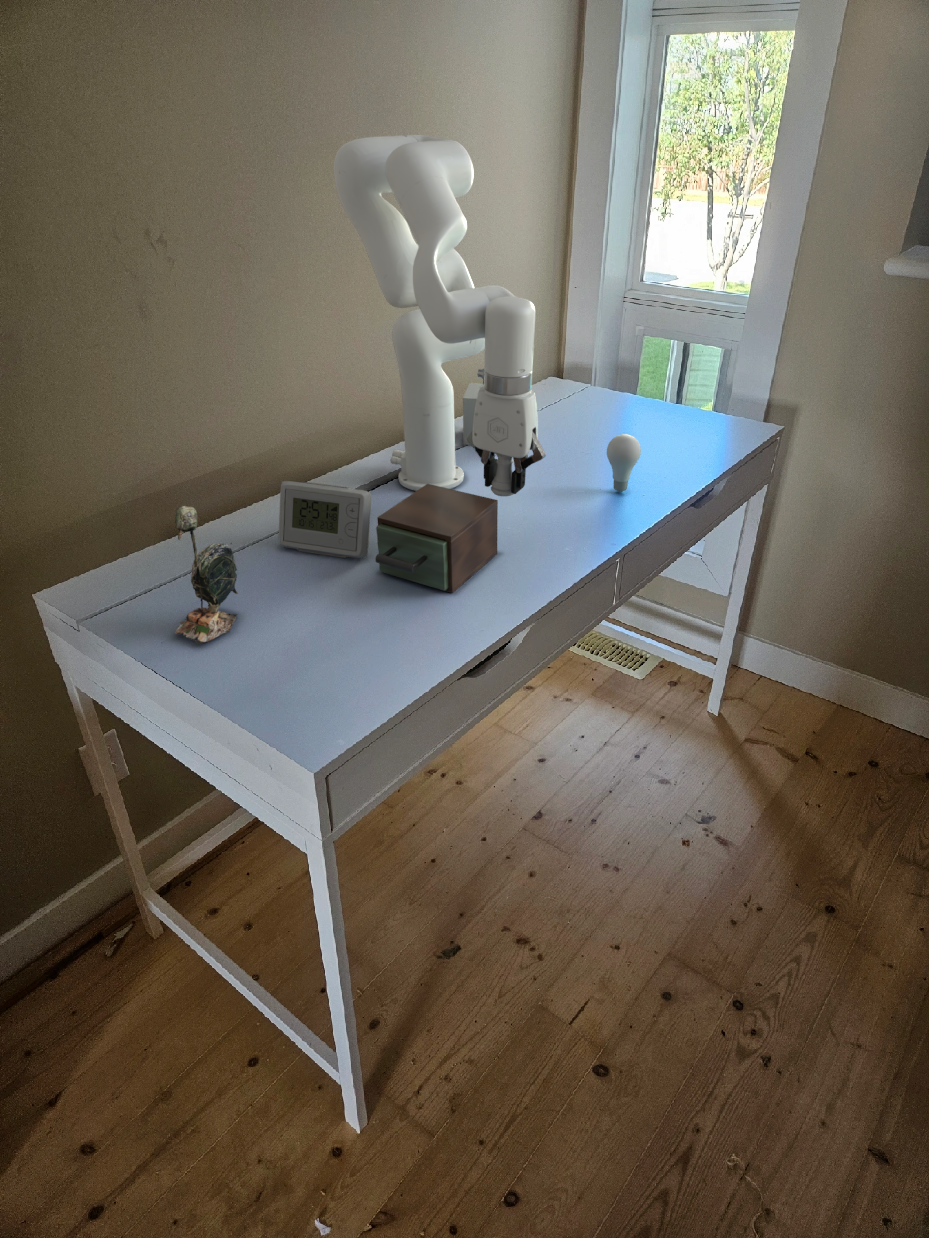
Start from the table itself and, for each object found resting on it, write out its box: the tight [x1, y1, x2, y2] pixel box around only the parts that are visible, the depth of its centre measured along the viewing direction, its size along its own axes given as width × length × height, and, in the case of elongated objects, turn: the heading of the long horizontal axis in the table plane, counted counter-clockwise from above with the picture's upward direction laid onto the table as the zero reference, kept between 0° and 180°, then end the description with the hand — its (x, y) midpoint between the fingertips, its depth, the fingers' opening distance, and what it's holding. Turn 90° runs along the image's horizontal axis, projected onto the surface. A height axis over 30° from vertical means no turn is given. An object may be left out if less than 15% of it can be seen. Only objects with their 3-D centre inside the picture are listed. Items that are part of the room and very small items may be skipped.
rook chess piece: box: [490, 453, 514, 497], centre depth 139 cm, size 4×4×8 cm
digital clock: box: [278, 480, 372, 559], centre depth 135 cm, size 16×9×11 cm, turn 60°
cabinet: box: [376, 484, 499, 594], centre depth 130 cm, size 14×13×10 cm
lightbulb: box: [606, 433, 642, 493], centre depth 151 cm, size 6×6×11 cm
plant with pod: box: [174, 505, 239, 645], centre depth 113 cm, size 8×11×20 cm
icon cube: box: [462, 382, 483, 446], centre depth 176 cm, size 10×10×10 cm
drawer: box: [375, 524, 449, 592], centre depth 127 cm, size 17×12×8 cm
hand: (503, 486), depth 140 cm, fingers closed on rook chess piece, 4 cm apart
